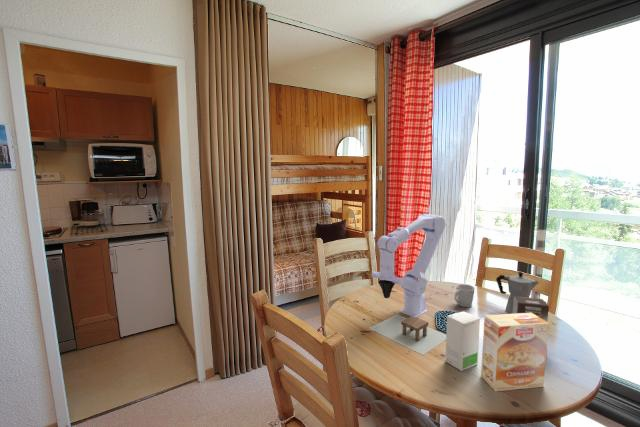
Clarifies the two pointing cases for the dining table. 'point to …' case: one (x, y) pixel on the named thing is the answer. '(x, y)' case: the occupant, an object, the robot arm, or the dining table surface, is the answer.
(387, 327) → the mat
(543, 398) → the dining table surface
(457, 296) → the cup
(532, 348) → the coffeecake box
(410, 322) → the stool
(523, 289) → the coffeepot
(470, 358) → the skincare box
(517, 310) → the coffee box
